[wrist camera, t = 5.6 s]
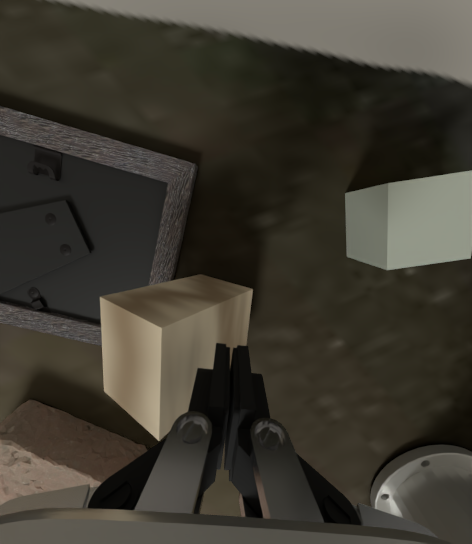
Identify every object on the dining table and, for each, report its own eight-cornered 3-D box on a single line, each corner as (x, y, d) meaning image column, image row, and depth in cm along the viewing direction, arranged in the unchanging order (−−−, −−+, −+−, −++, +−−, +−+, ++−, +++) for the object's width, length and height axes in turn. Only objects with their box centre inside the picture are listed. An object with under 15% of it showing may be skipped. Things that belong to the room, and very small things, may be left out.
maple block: (253, 288, 16) (161, 328, 9) (244, 361, 17) (159, 441, 11) (200, 274, 19) (99, 296, 12) (196, 338, 20) (104, 391, 13)
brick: (3, 450, 23) (-53, 507, 18) (30, 391, 21) (-24, 438, 17) (148, 507, 25) (130, 571, 21) (183, 457, 24) (171, 515, 19)
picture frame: (-80, 291, 19) (160, 347, 21) (-116, 299, 17) (152, 361, 19) (-92, 82, 16) (199, 168, 17) (-138, 63, 14) (194, 162, 15)
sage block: (409, 183, 17) (480, 169, 12) (407, 247, 18) (470, 258, 13) (344, 193, 17) (388, 183, 12) (346, 256, 18) (387, 270, 13)
